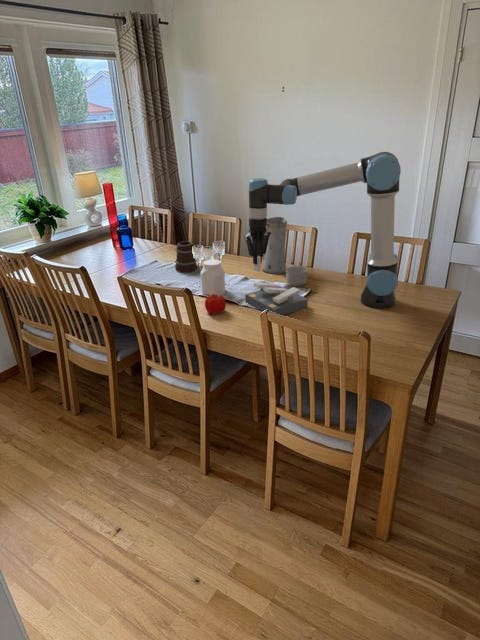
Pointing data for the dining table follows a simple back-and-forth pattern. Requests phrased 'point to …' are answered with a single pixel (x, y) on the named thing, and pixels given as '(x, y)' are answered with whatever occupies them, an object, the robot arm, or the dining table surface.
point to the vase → (276, 246)
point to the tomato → (215, 304)
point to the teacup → (296, 275)
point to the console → (265, 301)
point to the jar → (212, 278)
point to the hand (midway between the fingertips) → (257, 270)
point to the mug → (185, 257)
